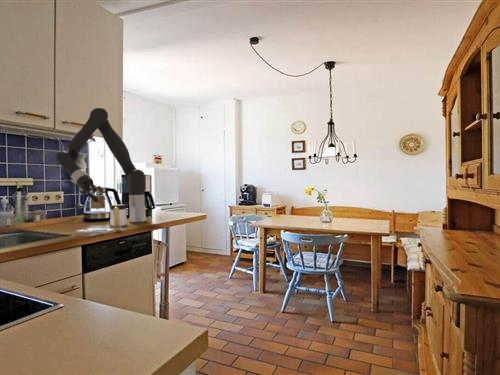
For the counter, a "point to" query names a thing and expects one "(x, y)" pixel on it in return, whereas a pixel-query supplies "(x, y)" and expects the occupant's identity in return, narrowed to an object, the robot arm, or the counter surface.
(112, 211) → the jar
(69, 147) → the robot arm
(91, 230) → the drilled plate
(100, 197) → the walnut block
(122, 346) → the counter surface
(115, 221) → the brass post
